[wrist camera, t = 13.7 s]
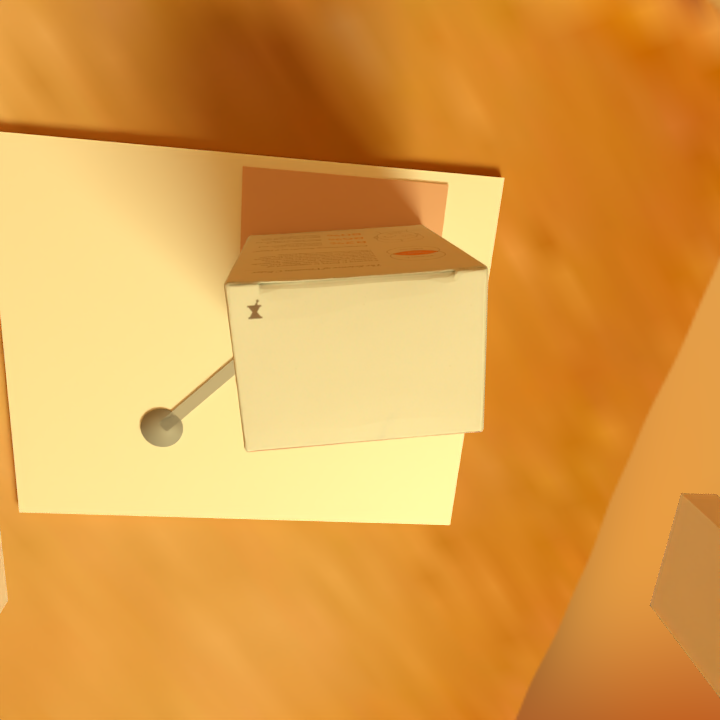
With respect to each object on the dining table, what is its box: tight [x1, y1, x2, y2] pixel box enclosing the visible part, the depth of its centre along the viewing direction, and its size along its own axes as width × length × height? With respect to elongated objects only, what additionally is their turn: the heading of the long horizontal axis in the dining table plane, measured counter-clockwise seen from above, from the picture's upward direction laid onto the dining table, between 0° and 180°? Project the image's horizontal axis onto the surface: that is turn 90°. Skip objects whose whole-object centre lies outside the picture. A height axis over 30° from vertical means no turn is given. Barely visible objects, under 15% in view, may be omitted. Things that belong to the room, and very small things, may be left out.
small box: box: [224, 224, 488, 452], centre depth 24 cm, size 8×6×10 cm
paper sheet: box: [0, 131, 504, 525], centre depth 30 cm, size 22×18×1 cm
